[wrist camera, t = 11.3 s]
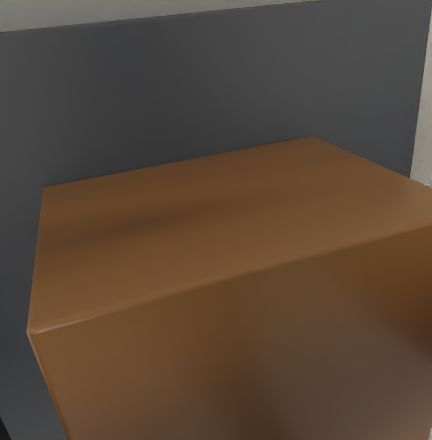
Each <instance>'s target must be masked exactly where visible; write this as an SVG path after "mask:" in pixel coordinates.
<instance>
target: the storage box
mask: <svg viewBox="0 0 432 440" xmlns="http://www.w3.org/2000/svg"><path fill="white" fill-rule="evenodd" d="M431 9H432V0H316V1H306V2H296V3H286V4H276V5H266V6H256V7H246V8H237V9H227V10H217V11H207V12H197V13H187V14H177V15H167V16H157V17H147V18H137V19H127V20H117V21H108V22H98V23H88V24H78V25H68V26H58V27H48V28H38V29H28V30H18V31H8V32H0V417H1V419H2V421H3V423H4V425H5V427H6V429H7V431H8V433H9V436H10V438H11V440H68V439H67V437H66V434H65V432H64V429H63V426H62V424H61V421H60V419H59V416H58V413H57V411H56V408H55V406H54V403H53V400H52V398H51V395H50V393H49V390H48V387H47V385H46V382H45V380H44V377H43V374H42V372H41V369H40V367H39V364H38V361H37V359H36V356H35V354H34V351H33V348H32V346H31V343H30V341H29V338H28V335H27V333H26V332H27V323H28V315H29V306H30V297H31V288H32V280H33V271H34V262H35V254H36V245H37V236H38V227H39V219H40V210H41V201H42V192H43V188H45V187H47V186H52V185H58V184H63V183H68V182H73V181H78V180H84V179H89V178H94V177H99V176H105V175H110V174H115V173H120V172H125V171H131V170H136V169H141V168H146V167H151V166H157V165H162V164H167V163H172V162H178V161H183V160H188V159H193V158H198V157H204V156H209V155H214V154H219V153H224V152H230V151H235V150H240V149H245V148H251V147H256V146H261V145H266V144H271V143H277V142H282V141H287V140H292V139H297V138H303V137H308V136H314V137H316V138H319V139H321V140H323V141H326V142H328V143H330V144H332V145H335V146H337V147H339V148H342V149H344V150H346V151H348V152H351V153H353V154H355V155H358V156H360V157H362V158H364V159H367V160H369V161H371V162H374V163H376V164H378V165H380V166H383V167H385V168H387V169H389V170H392V171H394V172H396V173H399V174H401V175H403V176H405V177H408V178H410V172H411V164H412V156H413V149H414V141H415V133H416V125H417V118H418V110H419V102H420V94H421V87H422V79H423V71H424V63H425V55H426V48H427V40H428V32H429V24H430V17H431Z"/></svg>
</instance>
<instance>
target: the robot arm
mask: <svg viewBox="0 0 432 440" xmlns="http://www.w3.org/2000/svg"><path fill="white" fill-rule="evenodd" d="M0 440H11V438H10V436H9V433H8V431H7V429H6V427H5V425H4V423H3V421H2V419H1V417H0Z"/></svg>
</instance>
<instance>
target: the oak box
mask: <svg viewBox="0 0 432 440" xmlns="http://www.w3.org/2000/svg"><path fill="white" fill-rule="evenodd" d="M26 333H27V335H28V338H29V341H30V343H31V346H32V348H33V351H34V354H35V356H36V359H37V361H38V364H39V367H40V369H41V372H42V374H43V377H44V380H45V382H46V385H47V387H48V390H49V393H50V395H51V398H52V400H53V403H54V406H55V408H56V411H57V413H58V416H59V419H60V421H61V424H62V426H63V429H64V432H65V434H66V437H67V439H68V440H429V436H430V431H431V426H432V188H431V187H428V186H426V185H424V184H421V183H419V182H417V181H415V180H412V179H410V178H408V177H405V176H403V175H401V174H399V173H396V172H394V171H392V170H389V169H387V168H385V167H383V166H380V165H378V164H376V163H374V162H371V161H369V160H367V159H364V158H362V157H360V156H358V155H355V154H353V153H351V152H348V151H346V150H344V149H342V148H339V147H337V146H335V145H332V144H330V143H328V142H326V141H323V140H321V139H319V138H316V137H314V136H308V137H303V138H297V139H292V140H287V141H282V142H277V143H271V144H266V145H261V146H256V147H251V148H245V149H240V150H235V151H230V152H224V153H219V154H214V155H209V156H204V157H198V158H193V159H188V160H183V161H178V162H172V163H167V164H162V165H157V166H151V167H146V168H141V169H136V170H131V171H125V172H120V173H115V174H110V175H105V176H99V177H94V178H89V179H84V180H78V181H73V182H68V183H63V184H58V185H52V186H47V187H45V188H43V192H42V201H41V210H40V219H39V227H38V236H37V245H36V254H35V262H34V271H33V280H32V288H31V297H30V306H29V315H28V323H27V332H26Z"/></svg>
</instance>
